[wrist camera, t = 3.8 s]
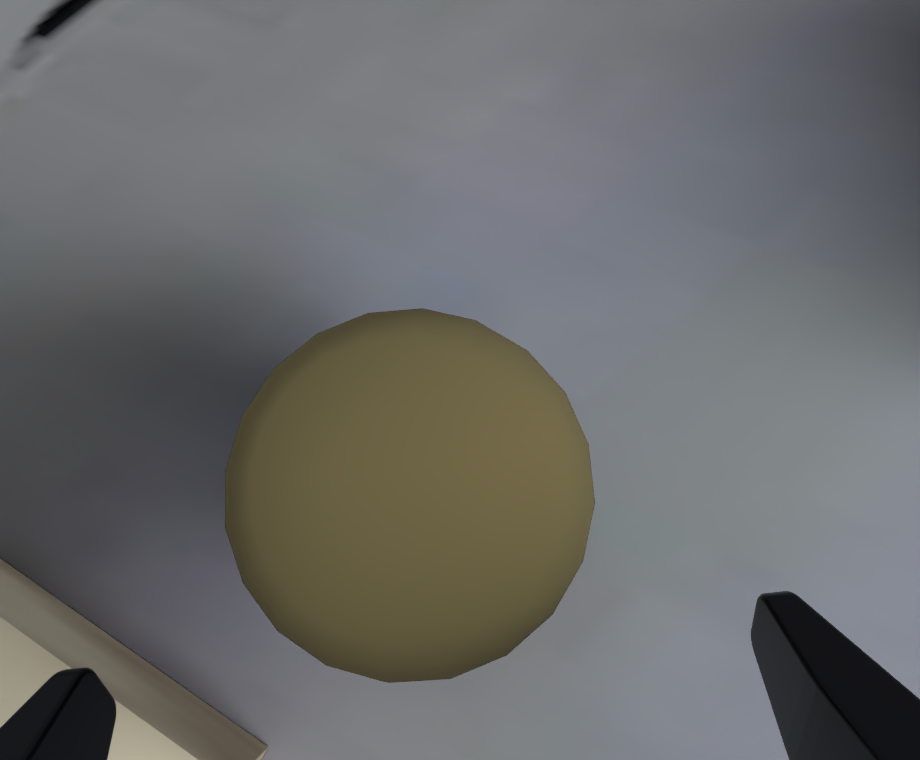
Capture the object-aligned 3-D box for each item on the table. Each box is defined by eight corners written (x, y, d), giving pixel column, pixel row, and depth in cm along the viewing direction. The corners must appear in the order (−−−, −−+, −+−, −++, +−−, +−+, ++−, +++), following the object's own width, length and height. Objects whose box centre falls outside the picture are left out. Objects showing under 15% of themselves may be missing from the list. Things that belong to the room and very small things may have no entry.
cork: (310, 466, 19) (70, 400, 8) (489, 358, 20) (477, 162, 9) (416, 659, 18) (290, 867, 7) (605, 540, 18) (754, 571, 8)
